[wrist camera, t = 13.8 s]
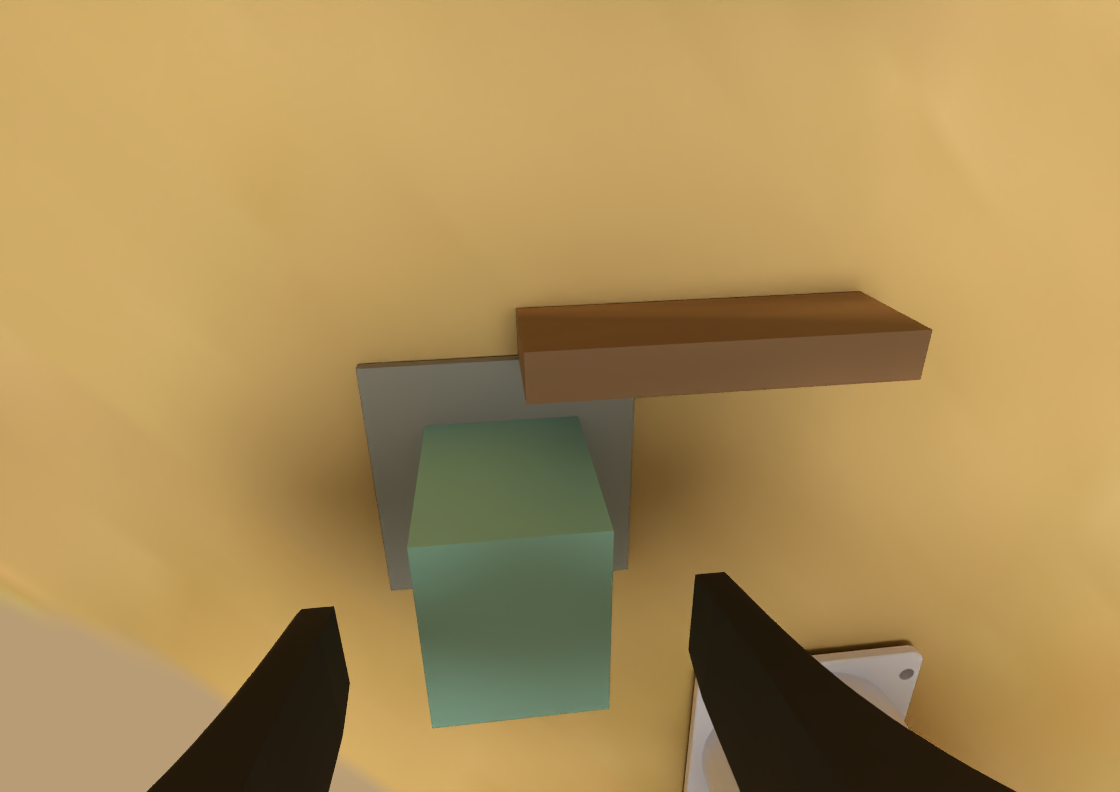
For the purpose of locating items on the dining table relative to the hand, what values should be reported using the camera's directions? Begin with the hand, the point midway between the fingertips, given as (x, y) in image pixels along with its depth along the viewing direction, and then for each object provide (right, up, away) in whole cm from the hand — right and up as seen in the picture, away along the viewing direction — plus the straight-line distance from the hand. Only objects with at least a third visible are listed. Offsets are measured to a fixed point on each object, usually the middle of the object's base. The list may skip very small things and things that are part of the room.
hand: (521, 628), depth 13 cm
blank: (-1, +2, +5) cm, 5 cm away
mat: (-1, +3, +5) cm, 6 cm away
